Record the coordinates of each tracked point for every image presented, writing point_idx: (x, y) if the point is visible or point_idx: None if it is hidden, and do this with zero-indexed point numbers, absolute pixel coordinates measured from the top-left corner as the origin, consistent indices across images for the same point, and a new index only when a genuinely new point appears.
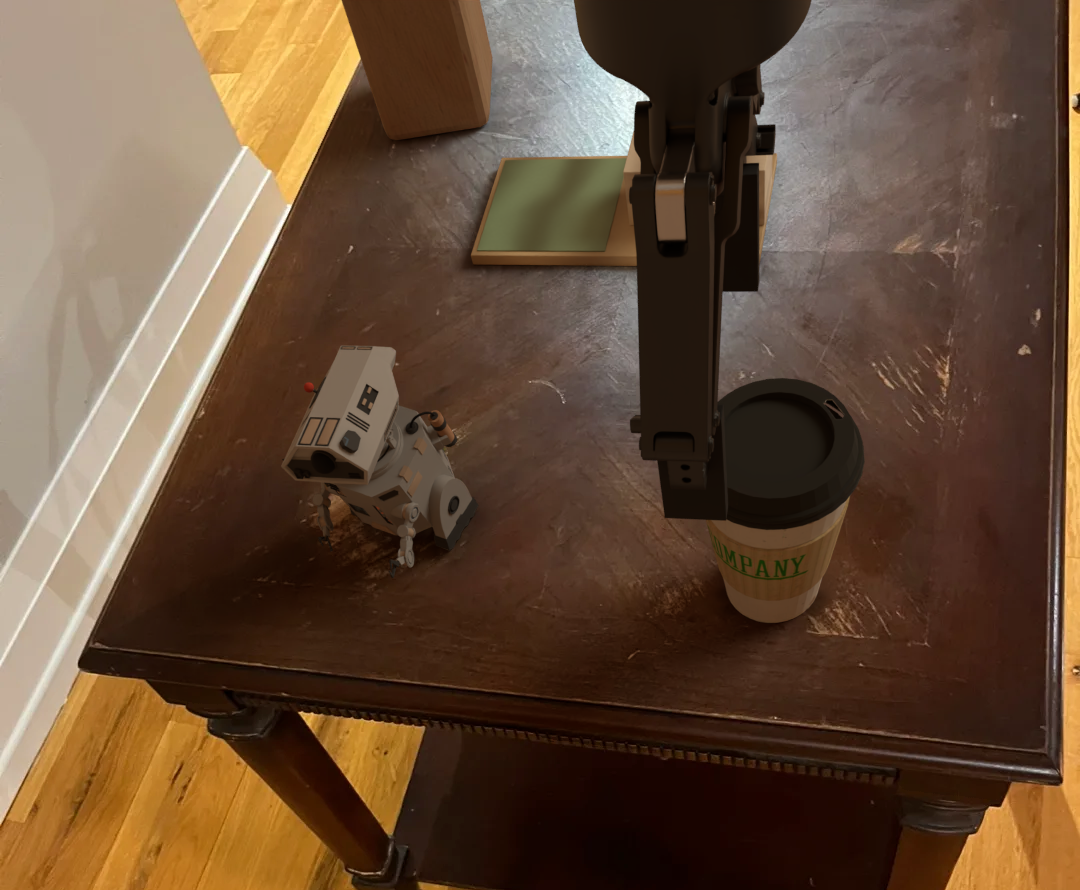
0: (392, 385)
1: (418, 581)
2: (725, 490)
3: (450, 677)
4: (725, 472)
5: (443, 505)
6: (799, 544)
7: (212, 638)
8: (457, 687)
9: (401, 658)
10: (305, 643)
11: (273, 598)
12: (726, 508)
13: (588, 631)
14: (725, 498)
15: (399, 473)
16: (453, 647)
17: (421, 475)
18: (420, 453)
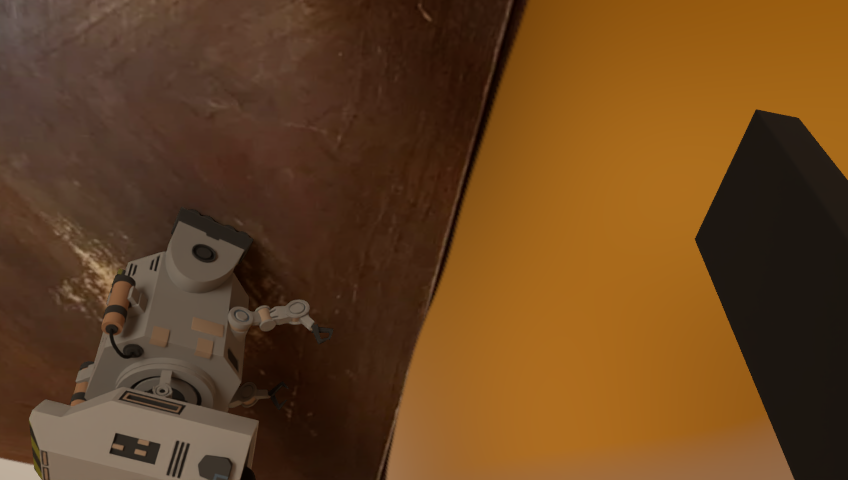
0: (96, 411)
1: (295, 269)
2: (830, 171)
3: (434, 235)
4: (839, 199)
5: (213, 271)
6: None
7: (361, 449)
8: (449, 227)
9: (402, 284)
10: (374, 373)
11: (314, 403)
12: (795, 130)
13: (382, 72)
14: (828, 159)
15: (206, 357)
16: (392, 232)
17: (193, 320)
18: (169, 333)
